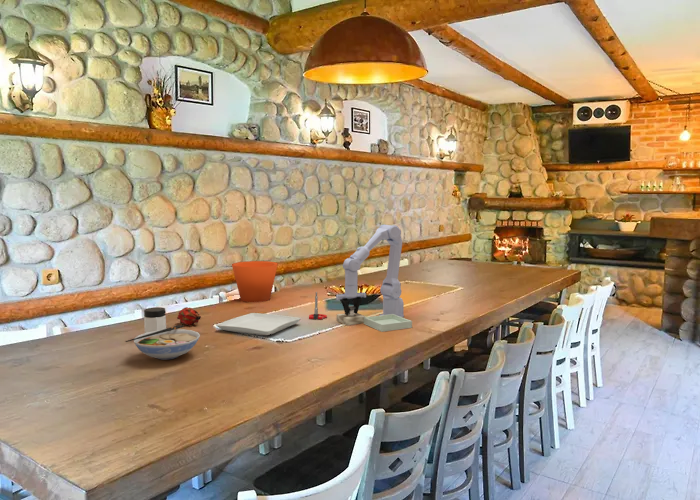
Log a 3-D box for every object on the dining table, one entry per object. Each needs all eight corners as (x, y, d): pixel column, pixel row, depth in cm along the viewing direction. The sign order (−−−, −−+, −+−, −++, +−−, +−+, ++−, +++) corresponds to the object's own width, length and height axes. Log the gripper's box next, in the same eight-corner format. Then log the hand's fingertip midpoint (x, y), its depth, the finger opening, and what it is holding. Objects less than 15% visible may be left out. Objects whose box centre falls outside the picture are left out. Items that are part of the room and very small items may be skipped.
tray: (392, 320, 254) (393, 313, 253) (411, 327, 240) (412, 321, 240) (363, 323, 246) (363, 317, 246) (381, 331, 233) (381, 324, 232)
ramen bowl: (160, 372, 180) (159, 347, 179) (117, 360, 192) (116, 337, 191) (216, 353, 201) (215, 331, 200) (174, 344, 213) (173, 323, 212)
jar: (167, 339, 219) (166, 310, 217) (146, 342, 215) (145, 312, 214) (164, 334, 227) (163, 306, 225) (144, 336, 223) (142, 308, 222)
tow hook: (311, 315, 264) (306, 319, 255) (311, 289, 263) (307, 292, 254) (328, 316, 263) (324, 320, 254) (328, 290, 262) (324, 292, 253)
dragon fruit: (180, 325, 248) (198, 333, 242) (168, 318, 241) (187, 325, 235) (190, 309, 251) (208, 316, 245) (179, 301, 244) (197, 308, 238)
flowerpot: (287, 298, 305) (287, 263, 303) (257, 305, 284) (256, 268, 282) (254, 293, 319) (253, 259, 317) (222, 300, 298) (221, 264, 296)
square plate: (302, 325, 245) (302, 316, 245) (268, 340, 220) (268, 330, 220) (252, 319, 256) (252, 311, 256) (214, 332, 232) (214, 323, 231)
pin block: (355, 318, 257) (355, 312, 257) (365, 322, 248) (365, 316, 248) (336, 320, 252) (336, 314, 252) (346, 325, 244) (346, 318, 243)
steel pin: (352, 320, 253) (353, 305, 252) (357, 322, 250) (357, 307, 249) (344, 321, 251) (344, 306, 250) (349, 323, 248) (349, 308, 247)
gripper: (360, 282, 255) (360, 310, 257) (333, 284, 249) (333, 313, 250) (368, 284, 249) (368, 313, 251) (340, 286, 242) (340, 316, 244)
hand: (351, 313), depth 250 cm, fingers closed on steel pin, 4 cm apart
